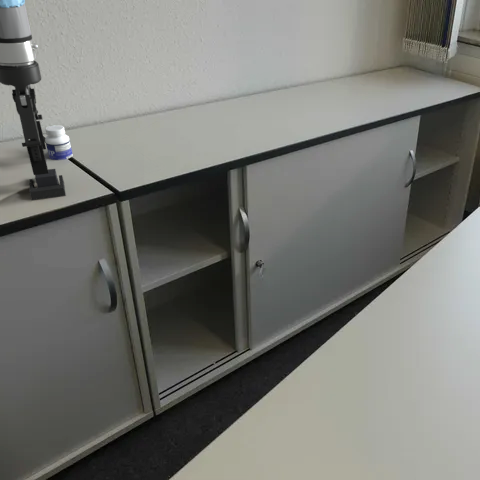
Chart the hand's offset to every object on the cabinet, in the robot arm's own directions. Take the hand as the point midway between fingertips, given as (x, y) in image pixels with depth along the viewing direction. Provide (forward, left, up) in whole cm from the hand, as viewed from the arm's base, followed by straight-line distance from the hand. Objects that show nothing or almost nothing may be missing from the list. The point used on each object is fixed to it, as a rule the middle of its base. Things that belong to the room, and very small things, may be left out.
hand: (40, 161), depth 118 cm
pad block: (+1, 0, -7) cm, 7 cm away
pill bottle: (-8, +13, -7) cm, 17 cm away
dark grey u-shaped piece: (+1, -1, -7) cm, 7 cm away
